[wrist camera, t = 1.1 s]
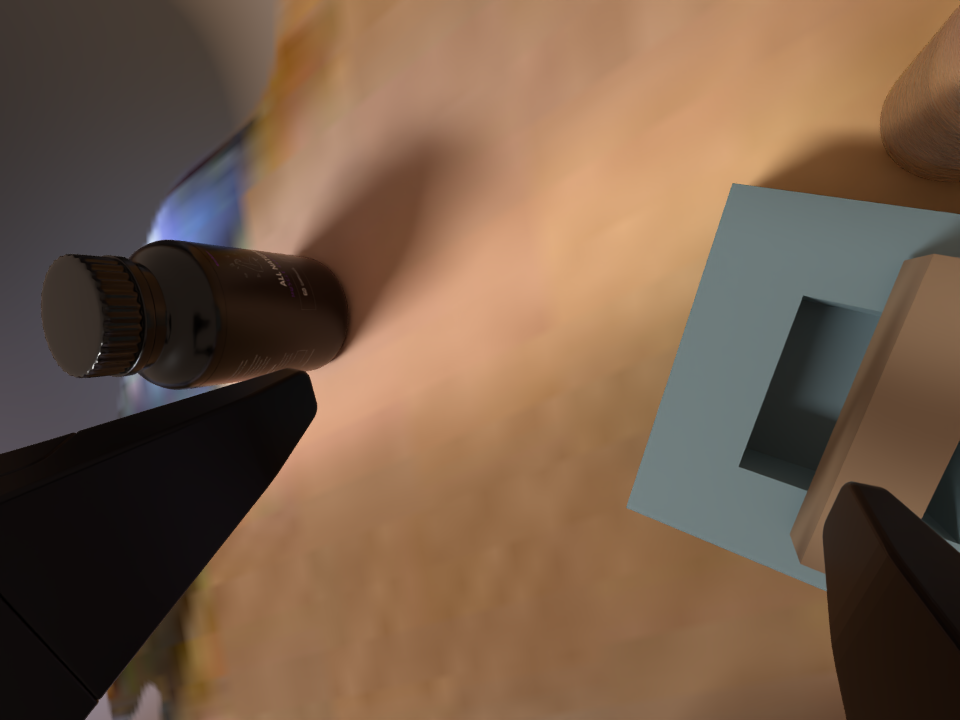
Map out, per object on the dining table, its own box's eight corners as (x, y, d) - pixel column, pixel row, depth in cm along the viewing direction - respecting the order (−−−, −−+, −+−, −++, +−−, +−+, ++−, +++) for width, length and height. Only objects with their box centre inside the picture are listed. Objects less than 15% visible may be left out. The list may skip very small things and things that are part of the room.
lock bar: (861, 562, 15) (883, 597, 13) (789, 534, 15) (800, 563, 14) (994, 275, 13) (1040, 271, 11) (904, 260, 14) (934, 253, 12)
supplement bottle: (354, 257, 27) (116, 224, 16) (352, 376, 28) (127, 420, 17) (268, 255, 30) (18, 227, 19) (269, 363, 31) (32, 394, 20)
